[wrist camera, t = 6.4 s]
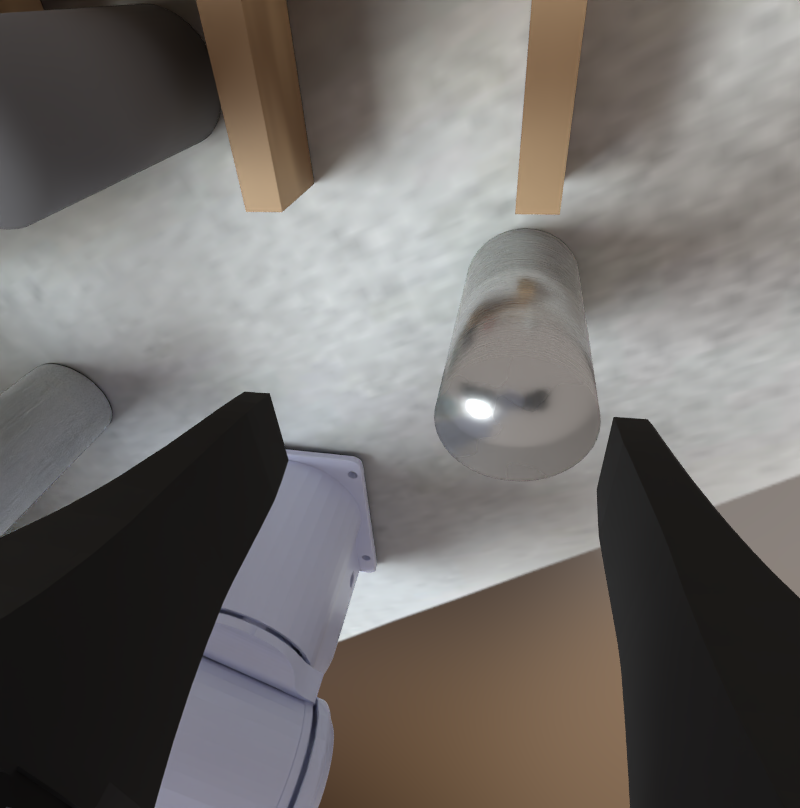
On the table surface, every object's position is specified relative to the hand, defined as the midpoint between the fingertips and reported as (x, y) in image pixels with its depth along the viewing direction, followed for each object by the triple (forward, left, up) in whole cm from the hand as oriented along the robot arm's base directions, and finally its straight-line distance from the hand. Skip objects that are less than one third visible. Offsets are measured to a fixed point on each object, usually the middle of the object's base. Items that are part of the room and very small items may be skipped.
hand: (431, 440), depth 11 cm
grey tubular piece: (-9, +21, -10) cm, 25 cm away
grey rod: (-1, -2, -10) cm, 10 cm away
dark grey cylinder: (+6, +10, -10) cm, 15 cm away
